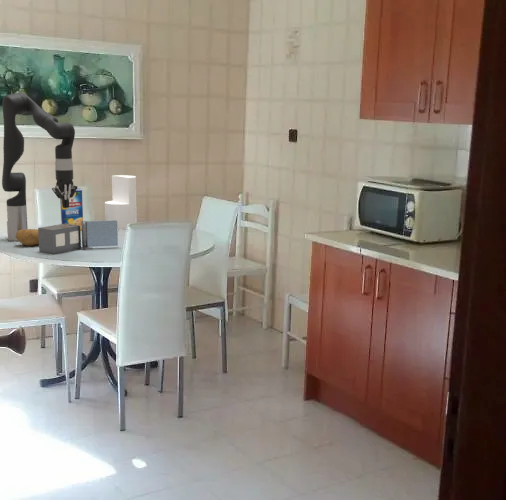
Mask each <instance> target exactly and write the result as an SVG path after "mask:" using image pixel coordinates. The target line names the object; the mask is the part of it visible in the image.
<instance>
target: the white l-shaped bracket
mask: <svg viewBox="0 0 506 500" xmlns="http://www.w3.org/2000/svg"><path fill="white" fill-rule="evenodd" d="M111 197H112V199H111V200H108V201H105V202H104V219H105V220H104V221H110V220H117V229H122V230H123V229H124V230H125V228H126V226H127V224H128V223H137V224H138V217H137V216H138V215H137V213H138V212H137V211H138V209H137V208H138V206H137V204H138V203H137V176H136V175H126V174H118V175H116V174H112V175H111ZM122 230H121V231H122Z"/></svg>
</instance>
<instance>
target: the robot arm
mask: <svg viewBox="0 0 506 500" xmlns="http://www.w3.org/2000/svg"><path fill="white" fill-rule="evenodd" d="M1 107H2V116H3V117H2V118H3V145H2V146H3V165H2V177H1V186H2V190H3V191H4V192H6V193H7V192H9V193H11V192H13V193H15V192H18V193H17V194H16V195H15V196H13V197H9V198H8V199H6V213H7V215H6V216H7V217H6V218H7V221H6V229H7V241H12V242H19V241H18V240H17V238H16V233H17V231H19V230H23V229H29V226H28V211H27V191H26V190H27V178H26V175H25V173H24V172H12V170H13V168H14V166H15V165H16V163H17V162H18V161H19V160H20V159H21V157H22V156H23V154H24V151H25V138H24V135H23V134H22V132H21V131H20V129H19V128H18V126H17V124H16V117H17V115H20V114H24V113H28V114H30V115H32V118H33V119H32V120H33V122H34V123H35V124H36V125H37V126H38V127H40V128H42V129H43V130H45V131H46V132H47V133H48V135H49V136H50V137H52V138H53V139H56V140H61V143H59V144H57V145H56V146H55V147H54V148H55V149H54V154H55V155H54V156H55V162H54V166H55V168H54V172H55V180H56V183H55V186H54V187H52V188H51V190H52V191H53V193H54V194H55V195H56V197H57V198H58V199H59V200H60V199H62V207H63V208H69V199H70V198H72V197H73V195H74V194H75V192H76V190H77V189H79V188H78V187H79V186H77V185H75V184H74V181H73V180H74V163H73V152H72V149H73V145H74V141H75V136H76V129H75V127H74V126H73V124H72V123H69V122H59V120H58V118H57V117H55V116H54V115H52V114H51V113H50V112H49V113H48V112H47V111H45V110H44V109H42V107H40V106H39V105H38V103H36V102H35V101H34V100H32V98H31V97H30V96H29V95H27V94H25V93H24V92H16V93H15V92H14V93H11V94H6V95H5V96H3V98H2V106H1Z"/></svg>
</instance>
